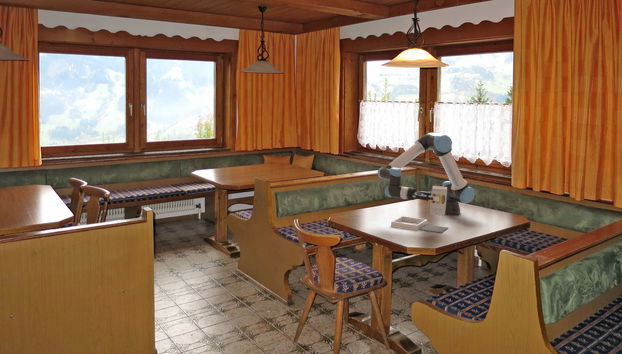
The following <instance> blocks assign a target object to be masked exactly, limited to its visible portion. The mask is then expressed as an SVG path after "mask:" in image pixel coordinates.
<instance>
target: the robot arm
mask: <svg viewBox="0 0 622 354" xmlns="http://www.w3.org/2000/svg"><path fill="white" fill-rule="evenodd" d="M452 147H453V140H452V138H451V137H450V136H449V135H447V134H444V133H436V132H428V133H426V134H424V135H422V136H420V137H419V138H418V139H416V141H414V144H412V146H411V147H409V148H407V150H405V151H404V152H403V153H401V154H400V155H399V156H397V157H396V158H395V159H393V160H392V161H391V162H390V163H388V164H387V165H386V166H385V167H383V166H382V167H380V168H379V169H378V170H377V175H378V178H380V179H381V180H386V181H388V183H389V184H388V185H386V186H385V189H384V194H385V196H386V197H389V198H395V199H396V198H397V199H403V200H404V201H405V200H411V201H414V200H415V199H417V200H421V201H426V202H428V201H430V202H431V201H439V197H436V196H431V193H432V191H425V190H424V191H421V190H418V191H417V190H416V188H413V187H407V186H401V185H402V184H401V183H402V169H403V168H404V167H405V166H406V165H408V164H409V163H410V162H411V161H413V160H414V159H415V158H416V157H418V156H420V154H424V153H426V152H427V151H430V150H431V151H433V153H434V155H435V156H436V157H438V158H439V161H440V163H441V165H442V167H443V168H444V169H443V170H445V173H446V175H447V177H448V179H449V180H447V181H446V180H445V181H443V182H442V186H441V187H447V198H446V209H445V215H452V216H453V215H454V216H455V215H459V214H461V208H460V207H461V206H460V203H461V204H468V203H471V202H472V201H473V200H474V197H475V195H476V194H475V188H473V187H471V186H470V185H469V184H468V181H467V180H466V179H464V178H463V177H464V176H463V175H462V173H461V171H460V169H459V167H458V164H457V162H456V160H455V158H454V156H453V154H452V151H453V148H452Z"/></svg>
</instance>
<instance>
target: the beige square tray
mask: <svg viewBox="0 0 622 354" xmlns="http://www.w3.org/2000/svg"><path fill="white" fill-rule="evenodd" d="M405 222H410V223H405ZM411 223H416V224H411ZM427 224H428V219H427V218H426V219H425V218H419V217H414V216H413V217H412V216H411V217H410V216H407V215H405V216H404V215H401V216H399V217H397V218H395V219H394V220H392V221H391V223H390V226H391V227H395V228H399V229H400V228H401V229H406V230H407V229H408V230H412V231H413V230H415V231H418V230H420V229H421V228H422V227H424V225H427Z"/></svg>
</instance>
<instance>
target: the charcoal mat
mask: <svg viewBox="0 0 622 354" xmlns="http://www.w3.org/2000/svg"><path fill="white" fill-rule="evenodd" d="M448 229H449V227H447V226H440V225H432V224H428V223H427V224H426V225H425V226H423V227H421V228H420V229H419V231H423V230H424V232H429V231H430V232H431V233H436V232H437V233H436V234H443V233H444V232H446V230H448Z"/></svg>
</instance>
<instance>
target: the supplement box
mask: <svg viewBox="0 0 622 354" xmlns="http://www.w3.org/2000/svg"><path fill="white" fill-rule="evenodd" d="M431 192H432V193H431V196H436V197H439V201H431V200H430V203H429V204H430V206H429V215H434V216H443V217H444V216H445V215H446V214H445V209H446V198H447V187H442V186H439V185H432V188H431Z"/></svg>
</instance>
